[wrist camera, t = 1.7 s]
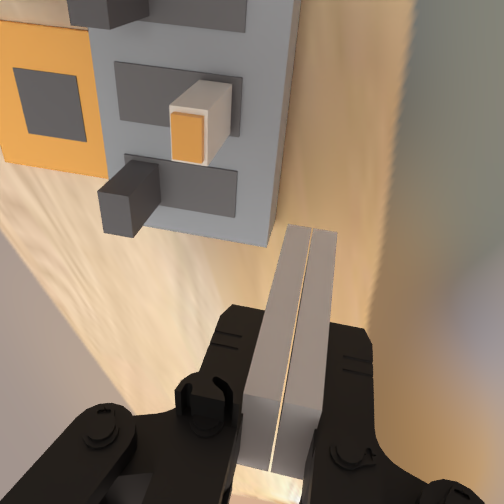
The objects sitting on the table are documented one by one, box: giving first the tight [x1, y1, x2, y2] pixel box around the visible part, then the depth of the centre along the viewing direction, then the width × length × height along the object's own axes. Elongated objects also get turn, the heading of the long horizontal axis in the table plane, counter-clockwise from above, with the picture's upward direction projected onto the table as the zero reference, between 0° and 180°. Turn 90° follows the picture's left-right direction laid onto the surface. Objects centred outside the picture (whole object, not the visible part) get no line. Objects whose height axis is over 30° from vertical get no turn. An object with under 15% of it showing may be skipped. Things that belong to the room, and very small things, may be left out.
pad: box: [0, 20, 109, 179], centre depth 33 cm, size 11×11×1 cm
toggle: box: [169, 80, 232, 166], centre depth 24 cm, size 3×2×5 cm, turn 176°
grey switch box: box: [67, 0, 301, 248], centre depth 27 cm, size 20×12×9 cm, turn 176°
